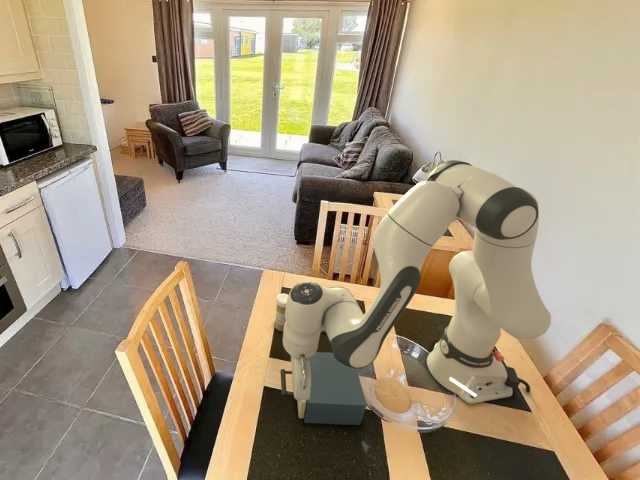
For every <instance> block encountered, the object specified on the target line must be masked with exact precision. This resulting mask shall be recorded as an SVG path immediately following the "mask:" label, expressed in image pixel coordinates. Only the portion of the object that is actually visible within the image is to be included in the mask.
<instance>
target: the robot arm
mask: <svg viewBox="0 0 640 480" xmlns="http://www.w3.org/2000/svg"><path fill="white" fill-rule="evenodd" d="M539 210H540V209H539V202H538V199H537V198H536V196H535V195H534V194H533V193H532V192H530V191H529V190H527V189H524V188H521V187H519V186H516V185H515V184H513V183H512V182H510V181H508V180H506V179H505V178H503V177H501V176H499V175H498V174H496V173H494V172H489V171H488V170H485V169H482V168H479V167H478V166H473V164H471V163H470V162H466V161H462V160H456V159H455V160H454V159H450V160H447V161H445V162H443V163H441V164H439V165H437V166H436V167H435V168H434V169H433V170H432V171H431V172H429V175H428V177H427V178H426V179H425V180H423V181H420V182H418V183H417V184H416V185H414V186H413V187H411V188H410V189H409V190H408V191H407V192H406V193H405V194H403V196H402V197H400V198H399V199H398V201H397V202H395V204H394V205H393V206H392V207H391V208H390V209H389V211H388V212H387V213H386V214H385V215H384V217H382V219H381V220H380V221H379V223H378V224H377V226H376V227H375V231H374V233H373V234H372V235H373V236H372V247H373V251H374V254H375V257H376V260H377V264H378V269H379V275H380V286H379V290H378V292H377V294H376V296H375V297H374V298H373V300H372V301H371V303H370V306H368V308H367V310H366V311H365V312H363V311H362V309H360V308H361V306H360V305H359V303H358V301H357V299H356V298H355V296H354V294H353V293H352V292H351V291H350V289H348V288H346V287H343V286H339V285H332V286H331V285H330V286H322V285H321V284H319V283H317V282H316V281H313V280H303V281H300V282H298V283H296V284H295V285H293V287H292V288H291V289H290V291H289V293H288V295H289V296H288V299H287V304H286V310H285V320H286V322H285V324H284V331H282V346H283V349H284V350H285V351H286V353H288V355H290V366H291V371H292V374H291V378H292V388H293V389H292V391H293V393H294V396H293V398H294V399H295V400H296V401H297V400H302V401H305V400H309V398H310V392H311V371H310V363H309V358H310V357H312V356H313V355H314V354H315V353H316V352H318V349H319V342H320V338H321V334H322V331H323V330H325V331H326V333H325V334H326V335H327V338H328V341H329V343H330V344H329V345H330V347H331V350H332V353H333V354H334V357H335V359H336V360H337V361H339V362H340V363H342V364H344V365H346V366H348V367H351V368H355V369H357V370H358V369H363V368H364V369H365V368H367V367H368V366H370V365H371V364H373V362H375V360H376V359H377V357H378V356H379V353H380V351H381V348H382V346H383V344H384V342H385V339H386V338H387V336H388V335H389V334H390V332H391V331H392V330H393V328H394V326H395V325H396V323H397V322H398V320H399V319H400V317H401V316H402V314H403V313H404V311H405V310H406V308H407V307H408V306H409V304H410V302H411V301H412V300H413V298H414V296H415V294H416V292H417V291H418V289H419V287H420V284H421V282H422V277H421V276H422V275H421V272H422V268H423V264H424V262H425V260H426V258H427V256H428V254H429V253H430V251H431V250H432V249H433V248H434V246H435V245H436V244H437V243H438V242H439V241H440V239H442V237H443V236H444V234H445V233H446V232H447V230H448V229H449V228H450V227H451V225H452V223H454V222H456V221H459V220H461V221H463V222H465V223H467V224H468V225H470V226H471V227H473V228H474V236H473V245H472V250H464V251H461V252H459V253H457V254H455V255H454V256H453V257H452V259H451V260H450V262H449V265H448V271H449V274H450V277H451V280H452V284H453V290H454V309H453V310H454V311H453V314H452V317H451V318H450V321H449V324H448V325H447V326H446V327H445V329H444V330H443V333H442V335H441V338H440V339H439V341H438V342H436V343H435V344H434V345H433V346H434V347H433V350H432V351H430V353H429V354H428V355H427V358H426V365H427V368H428V370H429V373H430V374H431V375H432V377H433V378H434V379H435V380H436V381H437V382H438V383H439V384H440V385H441V386H442V387H444V388H445V389H446V390H448V391H450V392H452V393H454V394H455V395H457V396H458V397H459V398H460V399H462V401H464V402H465V403H467V404H468V405H469V404H470V405H472V404H473V405H474V404H479V403H484V402H490V401H495V400H499V399H505V398H511V397H512V396H513V393H514V391H513V390H517V388H519V386H520V384H522V385H524V386H525V391H526V393H528V394H530V393H531V386H530V384H529V383H528V382H527V381H525V380H524V379H522V378H520V377H518V374H517V372H516V370H515V368H514V367H510V366H508V365H504V364H503V361H504V360H505V357H504V355H502V353H501V351H499V350H496V348H495V347H496V345H497V343H498V341H499V340H500V338H501V335H502V330H503V331H504V332H506V333H507V334H509V335H510V336H511V337H513V338H514V339H518V340H534V339H537V338H540V337H541V336H543V335H544V334H546V333H547V332H548V330H549V329H550V328H551V327H550V326H551V323H552V314H551V313H550V311H549V310H548V308H547V306H546V305H545V303H544V302H543V300H542V298H541V295H540V294H539V291H538V287H537V285H536V281H535V277H534V274H533V268H532V267H533V266H532V260H533V255H534V251H535V245H536V241H537V236H538V231H539V221H540V211H539ZM353 296H354V297H353ZM359 306H360V307H359Z"/></svg>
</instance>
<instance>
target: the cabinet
mask: <svg viewBox="0 0 640 480" xmlns="http://www.w3.org/2000/svg"><path fill="white" fill-rule="evenodd" d="M309 363H310V371H311V392H310V398H309V400H308V402H307V401H306V407H305V412H304V417H303V421H304V424H319V425H321V424H322V425H344V426H345V425H346V426H361V423H362V421H363V418H364V414H365V411H366V408H367V405H368V404H367V401H366V398H365V394H364V391H363V390H364V389H363V387H362V383H361V380H360V376H359V372H358V369H355V368H351V367H348V366H346V365H344V364H342V363H340V362H339V361H337V360H336V359H335V357H334V354H333V352H320V351H319V352H318V351H316V353H315V354H314V355H313V356H312V357H310V358H309Z"/></svg>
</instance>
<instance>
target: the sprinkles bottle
mask: <svg viewBox="0 0 640 480" xmlns="http://www.w3.org/2000/svg"><path fill="white" fill-rule="evenodd" d="M288 296H289V294H288V293H280V294H278V295H277V297H276V309H275V322H274V328H275V329H276V330H277V331H278V332H283V331H284V324H285V322H286V320H285V310H286V304H287V299H288Z"/></svg>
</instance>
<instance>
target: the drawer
mask: <svg viewBox="0 0 640 480" xmlns="http://www.w3.org/2000/svg"><path fill="white" fill-rule="evenodd" d="M287 375H292V370H286V369H285V368H281V369H280V389H281V398H287V397H294V392H289V391H287V390H288V389H287ZM306 401H307V402H308V400H305V401H302V400H296V402H297V412H298V418H299V419H304V412H305V407H306Z"/></svg>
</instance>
